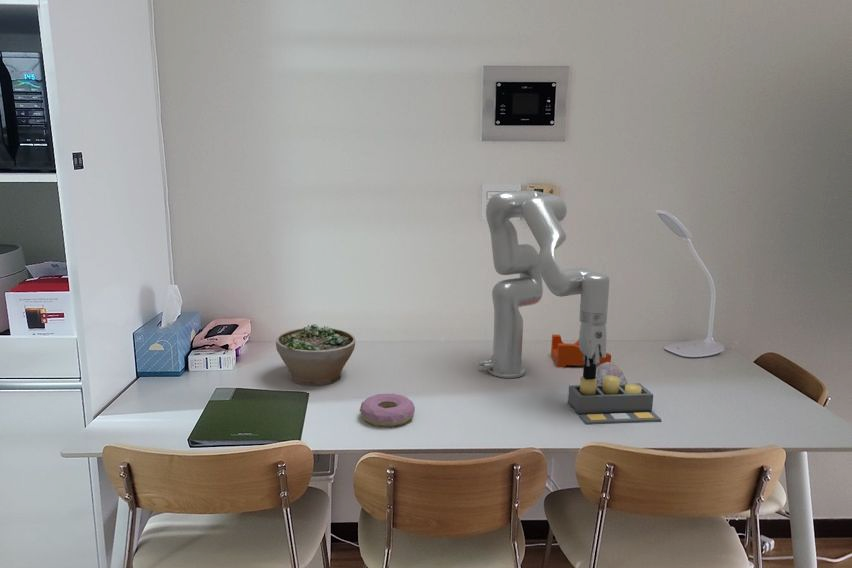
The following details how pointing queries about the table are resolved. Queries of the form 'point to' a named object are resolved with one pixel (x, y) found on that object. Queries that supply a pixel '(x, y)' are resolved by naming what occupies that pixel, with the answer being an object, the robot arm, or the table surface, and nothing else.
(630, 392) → the button right
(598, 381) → the stone
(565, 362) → the tape dispenser
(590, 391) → the button left
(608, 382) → the button mid
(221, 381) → the table surface
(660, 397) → the table surface
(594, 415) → the strip
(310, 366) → the planter
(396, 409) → the donut
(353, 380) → the table surface
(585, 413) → the grey compartment tray
